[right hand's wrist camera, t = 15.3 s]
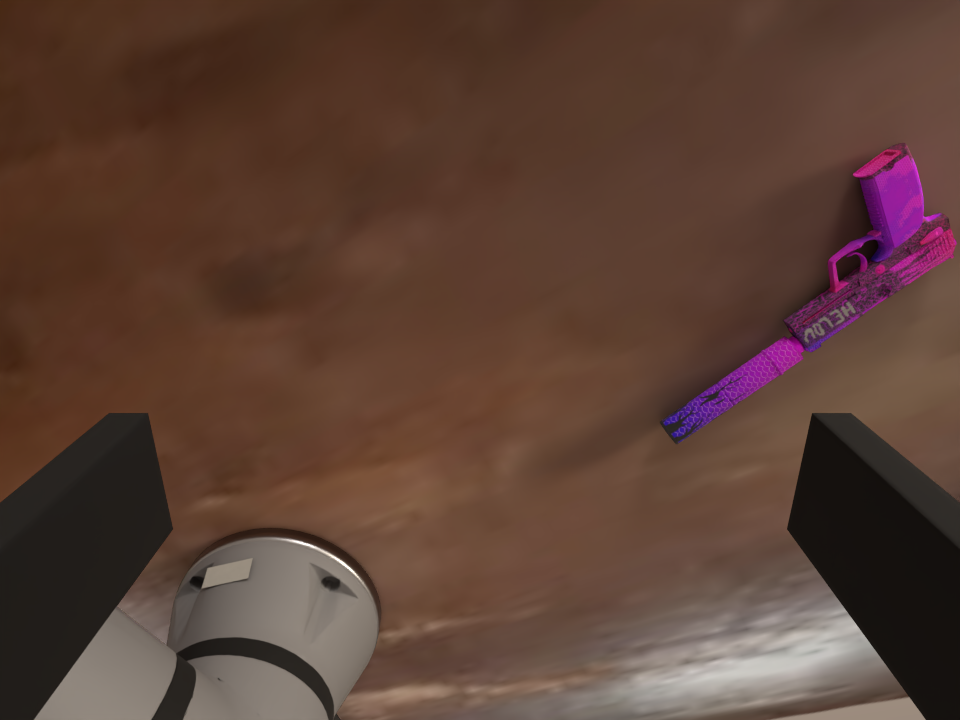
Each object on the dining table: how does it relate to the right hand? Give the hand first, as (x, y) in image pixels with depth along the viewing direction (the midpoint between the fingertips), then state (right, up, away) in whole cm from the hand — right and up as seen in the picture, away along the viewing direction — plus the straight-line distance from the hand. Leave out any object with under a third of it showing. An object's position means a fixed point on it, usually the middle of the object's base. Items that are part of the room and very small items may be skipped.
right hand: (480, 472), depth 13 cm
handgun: (+20, +6, +27) cm, 34 cm away
